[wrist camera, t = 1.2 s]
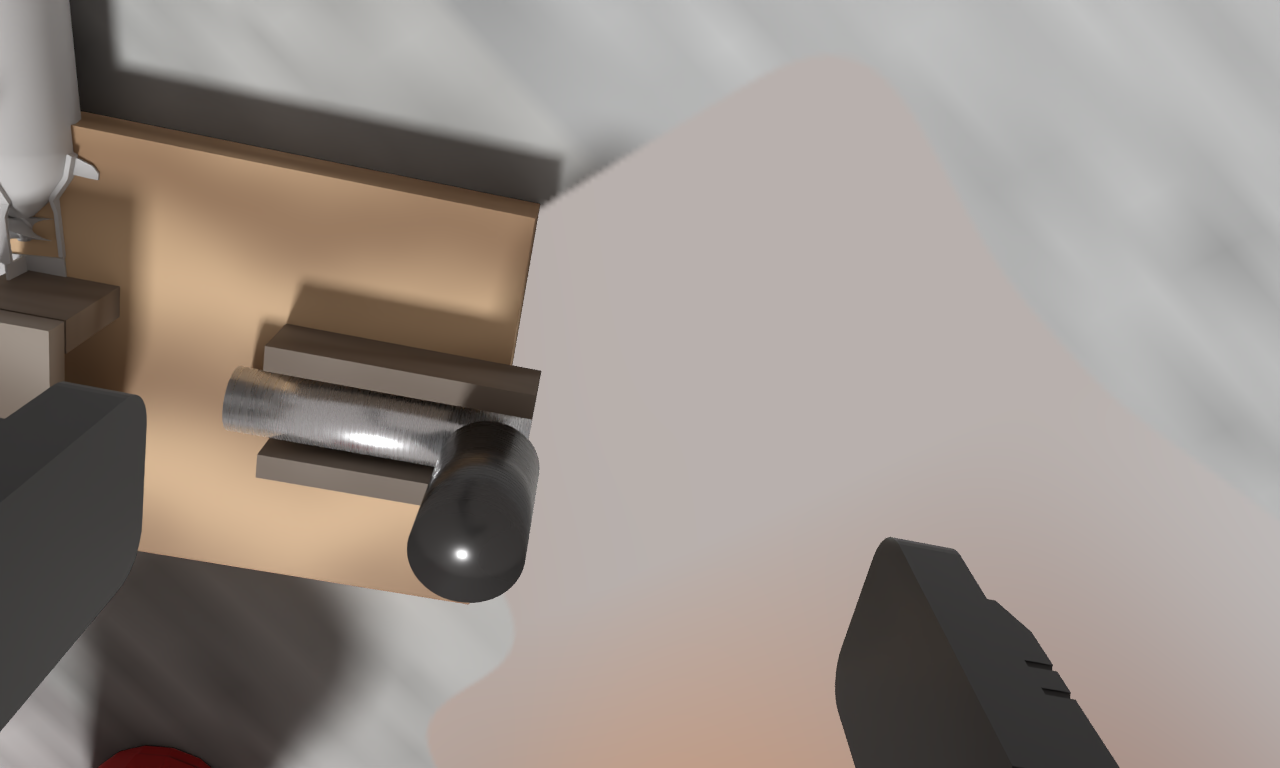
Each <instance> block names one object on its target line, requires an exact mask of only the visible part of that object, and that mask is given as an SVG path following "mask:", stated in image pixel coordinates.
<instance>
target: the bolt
mask: <svg viewBox="0 0 1280 768" xmlns="http://www.w3.org/2000/svg"><path fill="white" fill-rule="evenodd" d="M222 421H223V426H224V428H225V429H226V430H228V431H233V432H239V433H245V434H251V435H256V436H262V437H268V438H273V439H279V440H285V441H291V442H296V443H302V444H308V445H314V446H319V447H325V448H331V449H336V450H342V451H348V452H354V453H359V454H365V455H371V456H376V457H382V458H388V459H394V460H399V461H405V462H411V463H416V464H422V465H428V466H434V470H433V473H432V475H431V478H430V481H429V484H428V486H427V489H426V492H425V494H424V497H423V500H422V502H421V505H420V508H419V510H418V513H417V516H416V518H415V521H414V524H413V527H412V529H411V532H410V535H409V538H408V542H407V557H408V561H409V564H410V567H411V569H412V571H413V573H414V575H415V576H416V577H417V579H418V580H419V581H420V582H421V583H422V584H423V585H424V586H425V587H426V588H427V589H429V590H430V591H431V592H433V593H435V594H436V595H438V596H440V597H443V598H445V599H448V600H451V601H456V602H463V603H475V602H482V601H487V600H490V599H493V598H495V597H497V596H499V595H501V594H503V593H504V592H506V591H507V590H508V589H510V588H511V587H512V586H513V584H515V582H516V581H517V579H518V578H519V577H520V575H521V573H522V570H523V567H524V564H525V558H526V552H527V545H528V539H529V533H530V527H531V520H532V514H533V507H534V501H535V495H536V488H537V482H538V476H539V460H538V456H537V453H536V451H535V449H534V447H533V445H532V444H531V442H530V441H529V434H530V428H531V423H532V419H526V418H520V417H515V416H509V415H504V414H498V413H493V412H487V411H482V410H476V409H471V408H465V407H460V406H454V405H449V404H443V403H438V402H432V401H427V400H421V399H416V398H410V397H405V396H399V395H394V394H388V393H382V392H377V391H371V390H366V389H360V388H355V387H349V386H344V385H338V384H333V383H327V382H322V381H316V380H311V379H305V378H300V377H294V376H289V375H283V374H278V373H272V372H267V371H263V370H260V369H255V368H249V367H244V366H238V367H237V368H236V369H235V370H234V372H233V373H232V375H231V377H230V380H229V382H228V385H227V388H226V392H225V396H224V401H223V409H222Z"/></svg>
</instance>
